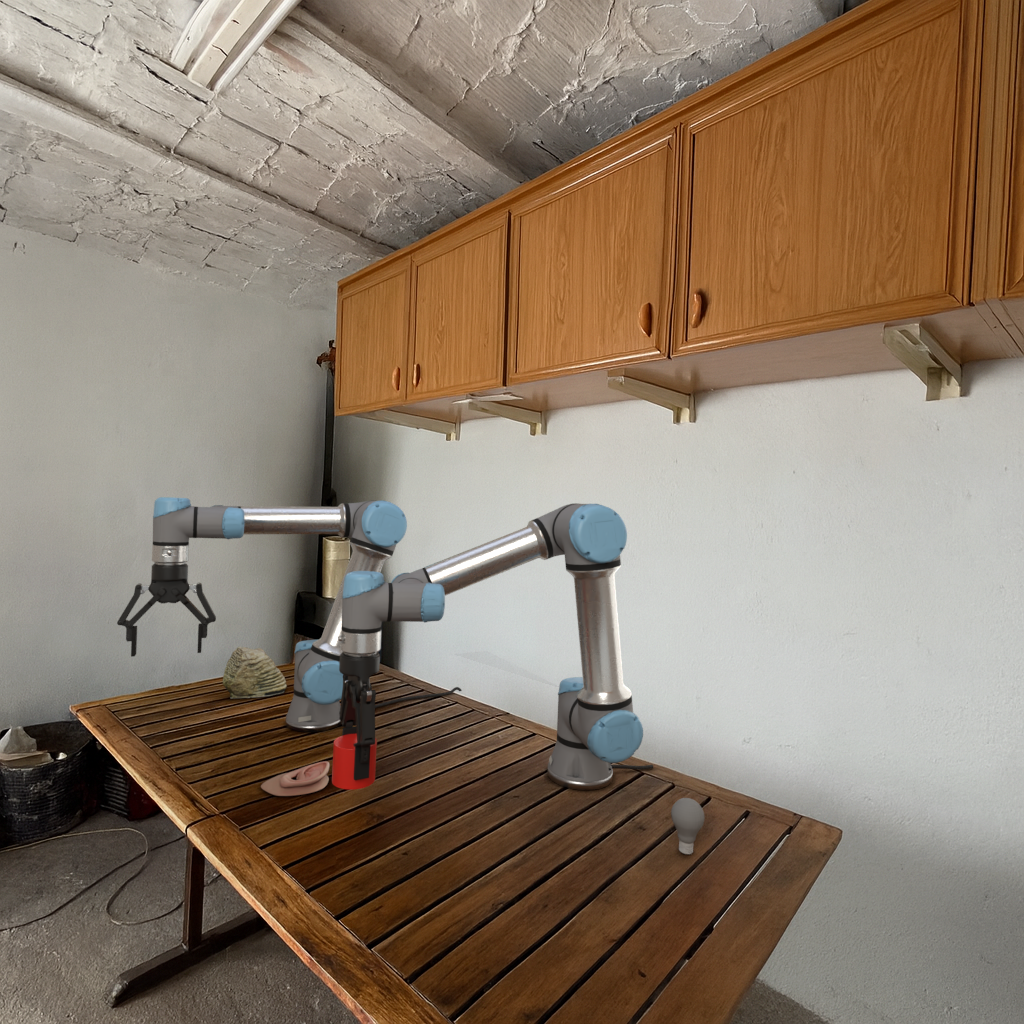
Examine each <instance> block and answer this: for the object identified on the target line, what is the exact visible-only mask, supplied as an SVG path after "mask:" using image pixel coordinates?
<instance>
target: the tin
mask: <svg viewBox="0 0 1024 1024" xmlns="http://www.w3.org/2000/svg"><path fill="white" fill-rule="evenodd" d="M354 743H357V734H347V735H343V736H342V735H341V736H338V737H336V738H335V739H334V740H333V746H332V747H333V748H332V766H331V767H332V769H331V783H332V785H333V786H334V787H336V788H338V789H341V790H354V791H355V790H361V789H365V788H368V787H370V786H372V785H373V784H374V783H375V781H376V769H377V768H376V767H377V748H378V747H377V746H378V739H377V738H376V737H375V744H373V745H371V746H370V766H369V778H365V779H360V780H354V759H355V747H354V745H353V744H354Z"/></svg>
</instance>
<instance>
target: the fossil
mask: <svg viewBox="0 0 1024 1024" xmlns="http://www.w3.org/2000/svg"><path fill="white" fill-rule="evenodd" d="M222 676H223V677H222V685H223V687H224V688H225V690H226V691H228V693H229V698H230V699H250V698H264V697H271V696H275V695H281V694H284V693H285V691H286V689H287V687H288V686H287V680H286V678H285V676H284V674H283V673H282V672H281V669H279V668H278V667H277V665H276V663H275V662H274V660H273V659H272V658H271V657H270V656H269V655H268V654H267V653H266V652H265V650H264V649H263V648H260V647H258V648H251V647H247V646H246V647H245V646H238V647H237V648H236V649H235V650H233V651H232V653H231V656H230V657H229V659H228V660H227V663H226V666H225V668H224V671H223V675H222Z"/></svg>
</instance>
